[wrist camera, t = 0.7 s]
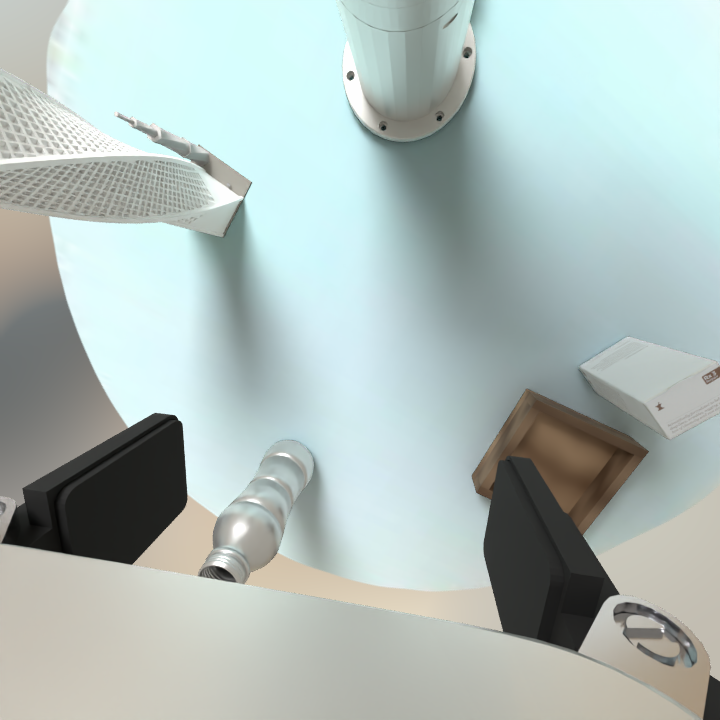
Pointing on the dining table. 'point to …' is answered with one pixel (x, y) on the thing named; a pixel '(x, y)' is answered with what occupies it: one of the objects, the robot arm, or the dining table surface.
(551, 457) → the walnut tray
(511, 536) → the robot arm
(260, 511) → the plastic bottle
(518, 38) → the dining table surface
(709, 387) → the skincare box
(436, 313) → the dining table surface
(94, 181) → the skyscraper
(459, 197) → the dining table surface
